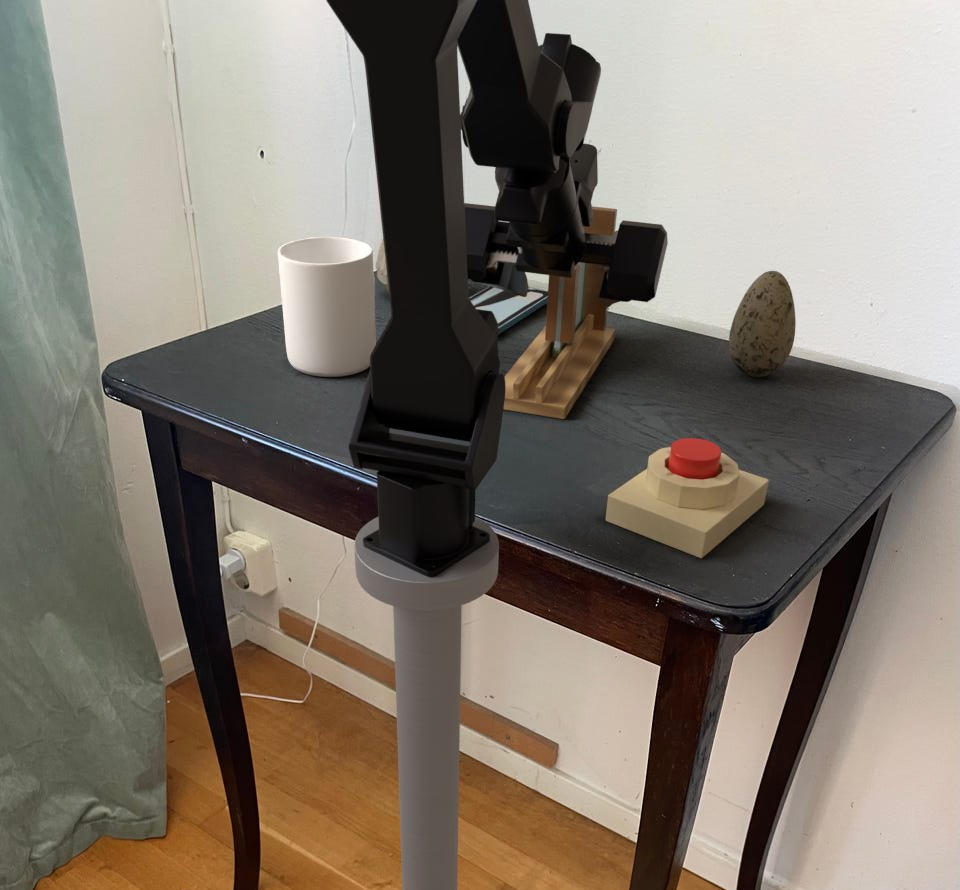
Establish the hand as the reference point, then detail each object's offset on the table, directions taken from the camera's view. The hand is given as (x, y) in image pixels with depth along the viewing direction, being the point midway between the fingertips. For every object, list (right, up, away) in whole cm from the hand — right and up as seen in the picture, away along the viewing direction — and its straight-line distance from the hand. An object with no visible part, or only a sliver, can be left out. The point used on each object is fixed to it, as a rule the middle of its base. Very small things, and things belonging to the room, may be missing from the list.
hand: (566, 297), depth 96 cm
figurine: (-16, +6, +20) cm, 26 cm away
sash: (+1, -3, +5) cm, 6 cm away
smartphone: (-7, +2, +15) cm, 16 cm away
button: (+7, -19, -22) cm, 30 cm away
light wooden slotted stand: (-1, -6, +3) cm, 7 cm away
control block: (+7, -22, -20) cm, 30 cm away
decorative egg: (+18, -7, +3) cm, 20 cm away
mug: (-22, -5, +4) cm, 23 cm away
